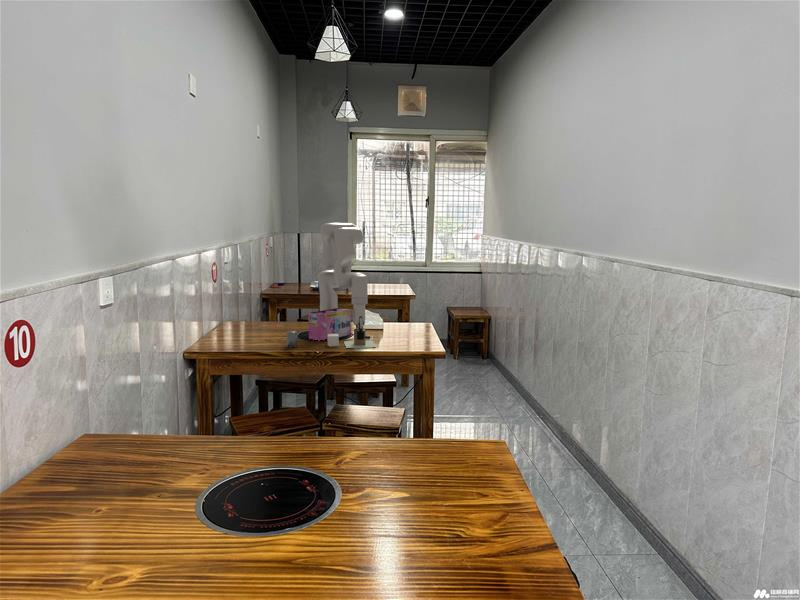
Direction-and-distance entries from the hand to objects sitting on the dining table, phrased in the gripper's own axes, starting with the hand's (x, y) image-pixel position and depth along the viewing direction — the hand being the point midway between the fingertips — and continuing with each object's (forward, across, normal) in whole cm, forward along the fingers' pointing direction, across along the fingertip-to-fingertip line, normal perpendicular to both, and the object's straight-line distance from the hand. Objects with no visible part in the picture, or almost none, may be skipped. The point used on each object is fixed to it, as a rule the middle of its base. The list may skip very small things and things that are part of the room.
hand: (359, 337), depth 265 cm
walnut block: (+3, 0, 0) cm, 3 cm away
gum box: (+4, -21, -13) cm, 25 cm away
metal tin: (+4, -2, -32) cm, 32 cm away
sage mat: (+4, 0, 0) cm, 4 cm away
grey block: (+4, -2, -12) cm, 13 cm away
